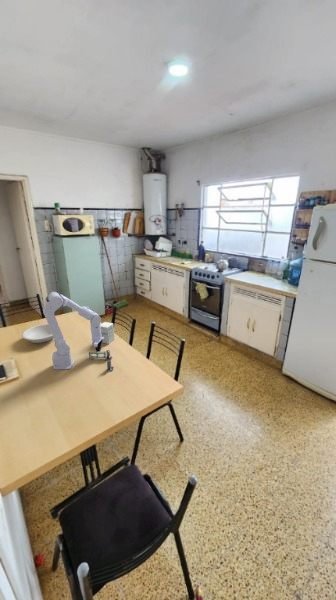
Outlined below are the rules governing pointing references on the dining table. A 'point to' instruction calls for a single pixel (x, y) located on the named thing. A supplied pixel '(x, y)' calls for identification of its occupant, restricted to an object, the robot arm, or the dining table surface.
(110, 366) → the post
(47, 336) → the soup bowl
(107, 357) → the hinge post
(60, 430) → the dining table surface
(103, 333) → the supplement box
